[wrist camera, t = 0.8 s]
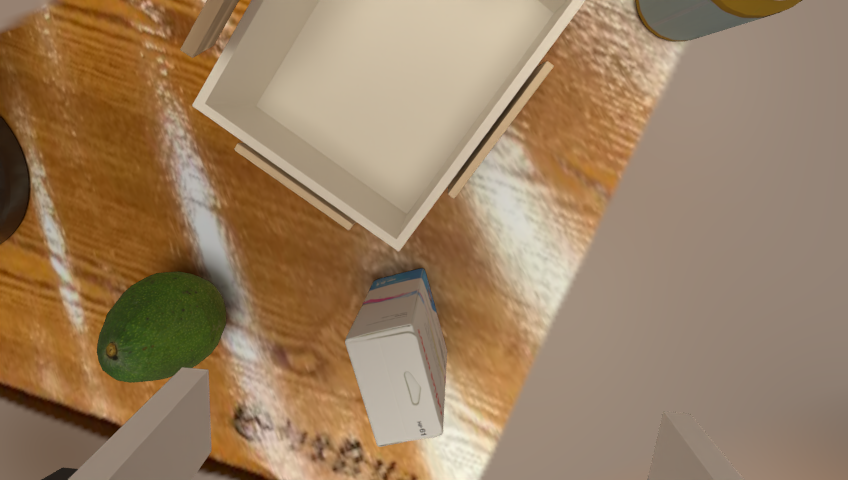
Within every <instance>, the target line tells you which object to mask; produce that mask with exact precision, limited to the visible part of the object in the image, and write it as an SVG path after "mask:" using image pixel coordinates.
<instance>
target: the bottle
mask: <svg viewBox="0 0 848 480" xmlns="http://www.w3.org/2000/svg"><path fill="white" fill-rule="evenodd" d="M801 1H802V0H636V5H637V10H638V14H639V16H640V18H641V20H642V21H643V23H644V25H645V26H646V27H647V28H648V29H649V30H650V31H651V32H652V33H654V34H655V35H656V36H658V37H660V38H663V39H666V40H669V41H688V40H693V39H696V38H699V37H703V36H706V35H709V34H712V33H715V32H719V31H722V30H725V29H728V28H731V27H735V26H738V25H741V24H745V23H748V22H751V21H754V20H757V19H761V18H764V17H767V16H770V15H773V14H776V13H780V12H782V11H784V10H787V9H789V8H791V7H793V6H794V5H796V4H797V3H799V2H801Z"/></svg>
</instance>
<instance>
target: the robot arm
mask: <svg viewBox="0 0 848 480" xmlns="http://www.w3.org/2000/svg"><path fill="white" fill-rule="evenodd" d="M28 193H29V182H28V173H27V168H26V164H25V160H24V157H23V154H22V151H21V149H20V147H19V144H18V142H17V140H16V139H15V137H14V135H13V133H12V132H11V130H10V129H9V127H8V126H7V124H6V123H5V122H4V120H3V119H2V118H1V117H0V244H1V243H2V242H4V241H5V240H6V239H7V238H8V237H10V236H11V235H12V233H13V232H14V231H15V230H16V228H17V227H18V225H19V224H20V222H21V220H22V218H23V216H24V213H25V210H26V206H27V202H28ZM210 452H211V428H210V401H209V374H208V370H205V369H195V368H184V367H182V368H181V369H180V370H179V371H178V372H177V373H176V374H175V375H174V376H173V377H172V378H171V379H170V380H169V381H168V382H167V383H166V384H165V385H164V386H163V387H162V388H161V389H160V390H159V391H158V392H157V393H156V394H155V395H154V396H153V397H152V398H150V399H149V400H148V401H147V402H146V403H145V404H144V405H143V406H142V407H141V408H140V409H139V410H138V411H137V412H136V413H135V414H134V415H133V416H132V417H131V418H130V419H129V420H128V421H127V422H126V423H125V424H124V425H123V426H122V427H121V428H120V429H119V430H118V431H117V432H116V433H115V434H114V435H113V436H112V437H111V438H110V439H109V440H108V441H107V442H106V443H105V444H104V445H103V446H102V447H101V448H100V449H98V450H97V451H96V452H95V453H94V454H93V455H92V456H91V457H90V458H89V459H88V460H87V461H86V462H85V463H84V464H83V465H82V466H81V467H80V468H79V469H71V468H61V469H59V470H57V471H56V472H54V473H53V474H51V475H49V476H47V477H45V478H44V479H42V480H192V479H193V477H194V476H195V474H196V473H197V471H198V470H199V468H200V467H201V466H202V464H203V463H204V461H205V460H206V458H207V457H208V455H209V454H210ZM648 480H744V479H743V477H742V476H741V475H740V474H739V473H738V471H737V470H736V469H735V468H734V466H733V465H732V464H731V463H730V462H729V460H728V459H727V458H726V457H725V455H724V454H723V453H722V452H721V451H720V449H719V448H718V447H717V446H716V445H715V443H714V442H713V441H712V440H711V438H710V437H709V436H708V435H707V433H706V432H705V431H704V430H703V429H702V427H701V426H700V425H699V424H698V422H697V421H696V420H695V419H694V418H693V416H692V415H691V414H687V413H676V412H665V411H664V412H663V415H662V420H661V424H660V429H659V433H658V437H657V441H656V446H655V450H654V454H653V458H652V463H651V467H650V471H649V476H648Z"/></svg>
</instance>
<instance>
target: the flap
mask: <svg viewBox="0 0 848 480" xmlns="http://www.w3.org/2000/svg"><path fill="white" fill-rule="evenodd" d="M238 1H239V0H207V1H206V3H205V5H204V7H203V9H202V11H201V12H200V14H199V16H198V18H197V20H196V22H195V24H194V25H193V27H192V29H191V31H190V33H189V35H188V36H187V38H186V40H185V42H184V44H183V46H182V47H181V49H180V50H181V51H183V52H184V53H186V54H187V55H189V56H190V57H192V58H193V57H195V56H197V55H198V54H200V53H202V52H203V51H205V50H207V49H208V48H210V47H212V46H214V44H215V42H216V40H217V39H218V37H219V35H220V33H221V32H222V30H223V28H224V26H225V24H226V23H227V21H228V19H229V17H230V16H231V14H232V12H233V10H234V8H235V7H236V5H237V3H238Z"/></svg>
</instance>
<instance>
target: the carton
mask: <svg viewBox="0 0 848 480" xmlns="http://www.w3.org/2000/svg"><path fill="white" fill-rule="evenodd" d="M584 2H585V0H252V1H251V3H250V4H249V6H248V8H247V10H246V11H245V13H244V15H243V17H242V18H241V20H240V22H239V24H238V25H237V27H236V29H235V31H234V33H233V34H232V36H231V38H230V40H229V41H228V43H227V45H226V47H225V48H224V50H223V52H222V54H221V55H220V57H219V59H218V61H217V62H216V64H215V66H214V68H213V70H212V71H211V73H210V75H209V77H208V78H207V80H206V82H205V84H204V85H203V87H202V89H201V91H200V92H199V94H198V96H197V98H196V99H195V101H194V103H193V105H192V106H193V107H195V108H196V109H197V110H199V111H200V112H202V113H203V114H204V115H206V116H207V117H209V118H210V119H212V120H213V121H214V122H216V123H217V124H219V125H220V126H221V127H223V128H224V129H226V130H227V131H229V132H230V133H231V134H233V135H234V136H236V137H237V138H238V139H240V140H241V141H243V142H244V143H238V144H237V145H236V147H235V149H234V150H235V151H236V152H238V153H239V154H241V155H242V156H244V157H245V158H246V159H248V160H249V161H251V162H252V163H254V164H255V165H256V166H258V167H259V168H261V169H262V170H263V171H265V172H266V173H268V174H269V175H271V176H272V177H273V178H275V179H276V180H278V181H279V182H281V183H282V184H283V185H285V186H286V187H288V188H289V189H291V190H292V191H293V192H295V193H296V194H298V195H299V196H300V197H302V198H303V199H305V200H306V201H308V202H309V203H310V204H312V205H313V206H315V207H316V208H318V209H319V210H320V211H322V212H323V213H325V214H326V215H328V216H329V217H330V218H332V219H333V220H335V221H336V222H337V223H339V224H340V225H342V226H343V227H345V228H346V229H347V230H350V229H351V227H352V226H353V225H354V224H355V223H356V222H357V223H359V224H360V225H362V226H363V227H364V228H366V229H367V230H369V231H370V232H372V233H373V234H374V235H376V236H377V237H379V238H380V239H381V240H383V241H384V242H386V243H387V244H389V245H390V246H391V247H393V248H394V249H396V250H397V251H398V252H399V251H400V249H401V248H402V247H403V245H404V244H405V243H406V241H407V240H408V239H409V237H410V236H411V235H412V233H413V232H414V231H415V229H416V228H417V227H418V225H419V224H420V222H421V221H422V220H423V218H424V217H425V216H426V214H427V213H428V212H429V210H430V209H431V208H432V206H433V205H434V204H435V202H436V201H437V200H438V198H439V197H440V196H441V194H442V193H443V192H444V190H445V189H446V187H447V186H448V195H450V196H451V197H452V198H455V197H456V196H457V194H458V193H459V192H460V190H461V189H462V188H463V186H464V185H465V184H466V182H467V181H468V180H469V178H470V177H471V176H472V174H473V173H474V172H475V170H476V169H477V168H478V166H479V165H480V164H481V162H482V161H483V160H484V158H485V157H486V156H487V154H488V153H489V152H490V150H491V149H492V148H493V146H494V145H495V144H496V142H497V141H498V140H499V138H500V137H501V136H502V134H503V133H504V132H505V130H506V129H507V128H508V126H509V125H510V124H511V122H512V121H513V120H514V118H515V117H516V116H517V115H518V113H519V112H520V111H521V109H522V108H523V107H524V105H525V104H526V103H527V101H528V100H529V99H530V97H531V96H532V95H533V93H534V92H535V91H536V89H537V88H538V87H539V85H540V84H541V83H542V81H543V80H544V79H545V77H546V76H547V75H548V73H549V72H550V71H551V69H552V68H553V67H554V66H553V65H552V64H551V63H549V62H548V61H546V62H545V63H543V64H541V65H539V66H537V65H538V64H539V62H540V61H541V60H542V58H543V57H544V56H545V54H546V53H547V52H548V50H549V49H550V47H551V46H552V45H553V43H554V42H555V41H556V39H557V38H558V37H559V35H560V34H561V33H562V31H563V30H564V29H565V27H566V26H567V25H568V23H569V22H570V21H571V19H572V18H573V17H574V15H575V14H576V12H577V11H578V10H579V8H580V7H581V6H582V4H583V3H584ZM536 66H537V67H536Z"/></svg>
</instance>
